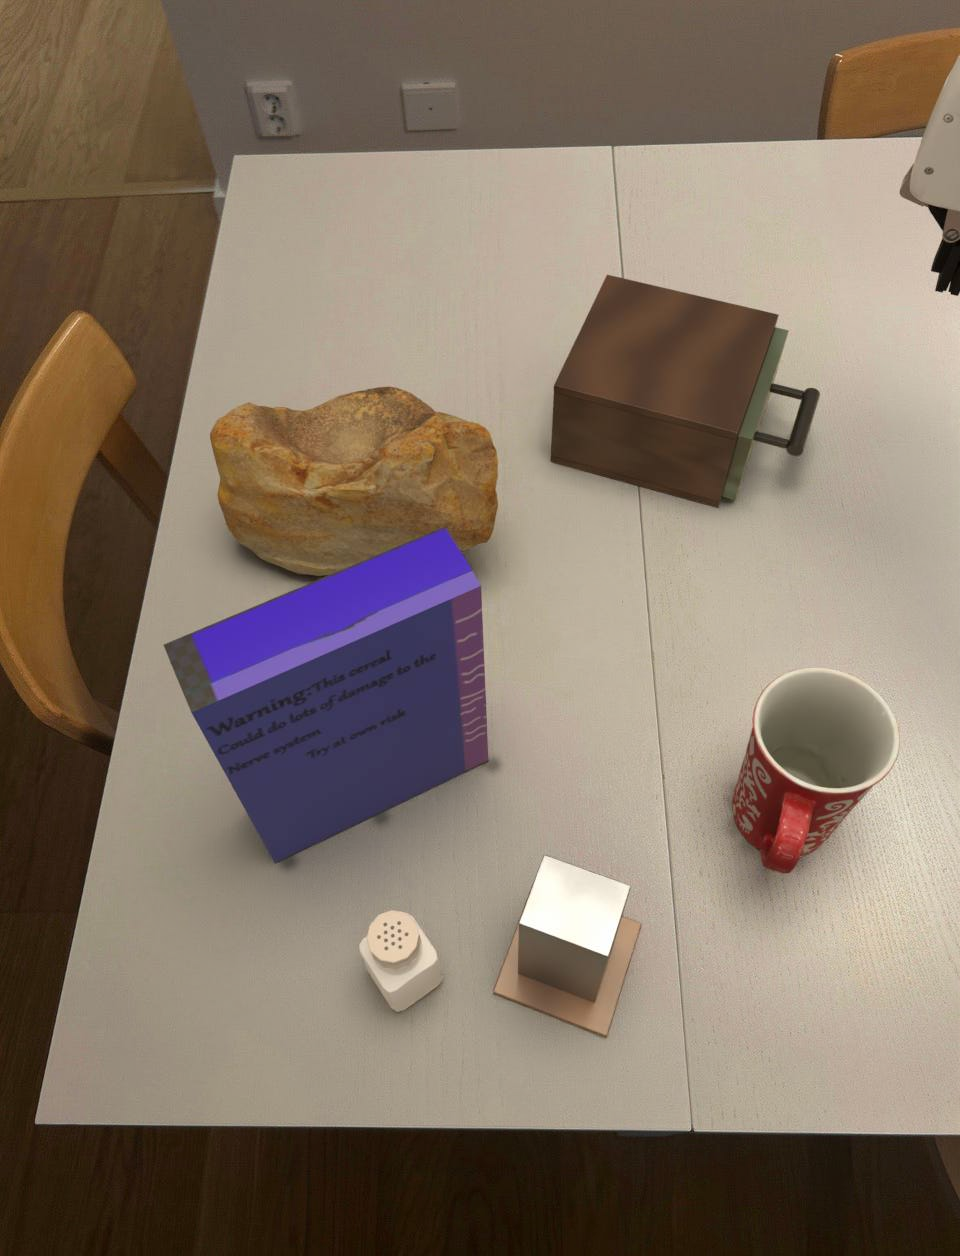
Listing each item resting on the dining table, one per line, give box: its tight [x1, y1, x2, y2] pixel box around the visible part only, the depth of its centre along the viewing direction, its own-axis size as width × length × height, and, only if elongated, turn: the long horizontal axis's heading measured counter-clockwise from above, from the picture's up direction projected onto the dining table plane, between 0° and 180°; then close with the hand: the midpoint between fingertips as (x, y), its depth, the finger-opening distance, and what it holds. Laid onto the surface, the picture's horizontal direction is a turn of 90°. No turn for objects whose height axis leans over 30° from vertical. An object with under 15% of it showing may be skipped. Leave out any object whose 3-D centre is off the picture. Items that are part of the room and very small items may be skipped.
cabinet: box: [550, 274, 780, 509], centre depth 94 cm, size 16×15×10 cm
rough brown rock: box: [209, 386, 499, 577], centre depth 88 cm, size 23×17×15 cm
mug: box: [731, 666, 901, 875], centre depth 72 cm, size 13×9×14 cm
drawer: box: [722, 327, 821, 501], centre depth 94 cm, size 19×13×8 cm
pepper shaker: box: [358, 909, 443, 1013], centre depth 68 cm, size 4×4×10 cm
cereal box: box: [163, 527, 489, 865], centre depth 70 cm, size 17×5×24 cm, turn 117°
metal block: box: [518, 854, 632, 1003], centre depth 68 cm, size 6×4×12 cm
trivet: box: [492, 884, 642, 1038], centre depth 73 cm, size 8×8×1 cm
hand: (949, 280), depth 76 cm, fingers closed
